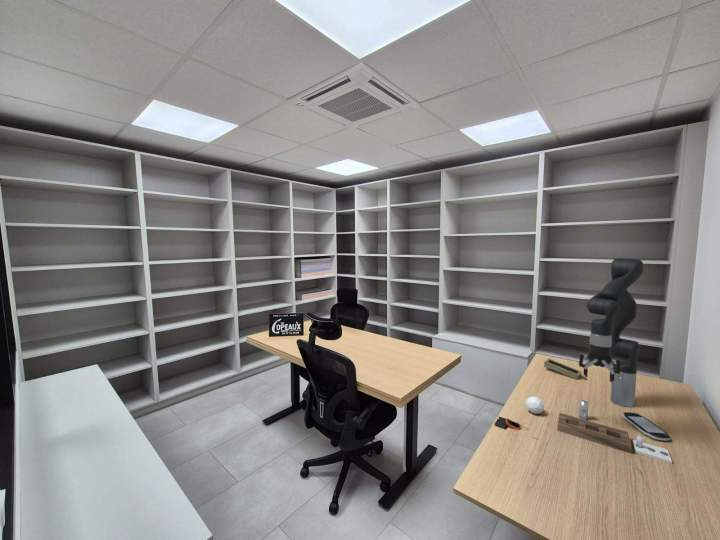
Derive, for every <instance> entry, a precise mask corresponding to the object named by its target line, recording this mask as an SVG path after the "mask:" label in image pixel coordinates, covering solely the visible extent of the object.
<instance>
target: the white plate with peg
mask: <svg viewBox="0 0 720 540" xmlns="http://www.w3.org/2000/svg"><path fill="white" fill-rule="evenodd" d="M632 444H633V447H634V452H635V454H639V455H641V456H644V457H648V458H651V459H654V460H657V461H660V462H664V463H668V464H671V465H672V464H673V460H672V457H671V455H670V452H669V451H668V449H667V448H663V447H659V446H656V445H652V444H649V443H646V442H644V436H642V435H636V439H632Z"/></svg>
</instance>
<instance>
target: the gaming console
mask: <svg viewBox="0 0 720 540" xmlns="http://www.w3.org/2000/svg"><path fill="white" fill-rule="evenodd" d="M621 414H622V417H623V419H624V420H625V421H627V422H628V423H629V424H630V425H632V426H633V427H634V428H636V429H637V430H638V431H639V432H641V433H642V434H643V435H644V436H646V437H647V438H649V439H651V440H655V441H658V442H669V441H671V439H672V438H671V436H670V435H669V433H668V432H666V431H665V430H663V429H662V428H661V427H659V426H658V425H656V424H655V423H654V422H653V421H651V420H650V419H648V417H647V418H646V417H645V416H643V415H641V414H639V413H636V412H629V411H626V412H625V411H624V412H622V413H621Z"/></svg>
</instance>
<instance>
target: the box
mask: <svg viewBox="0 0 720 540" xmlns="http://www.w3.org/2000/svg"><path fill="white" fill-rule="evenodd" d="M543 367H545V368H548V369H550V370H553V371H555V372H557V373H560V374H562V375H564V376H567V377H570V378H571V379H574V380H579V378H581V379H583V380H585V381H587V380H588V377H585V375H584V376H583V375H582V373H583V371H581V370H578V369H576V368H574V367H571V366H569V365H565V364H564V363H562V362H558V361H556V360H554V359H552V358H547V359H546V360H545V361H544V364H543Z"/></svg>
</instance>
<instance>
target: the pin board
mask: <svg viewBox="0 0 720 540" xmlns="http://www.w3.org/2000/svg"><path fill="white" fill-rule="evenodd" d="M557 420H558V421H557V432H560V433H564V434H566V435H567V434H568V435H570V436H574V437H576V438H579V439H584V440H586V441H590V442H593V443H596V444H600V445H602V446H606V447H608V448H611V449H616V450H619V451H623V452H626V453H628V454H631V453H632V443H631V439H630V434H629V431H627V430H622V429H619V428H615V427H613V426H607V425H604V424H601V423H597V422H594V421H591V420H588V419H587V420H584V419H580V418H579V417H576V416H573V415H569V414H564V413H561V412H559V413H558V419H557Z"/></svg>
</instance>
